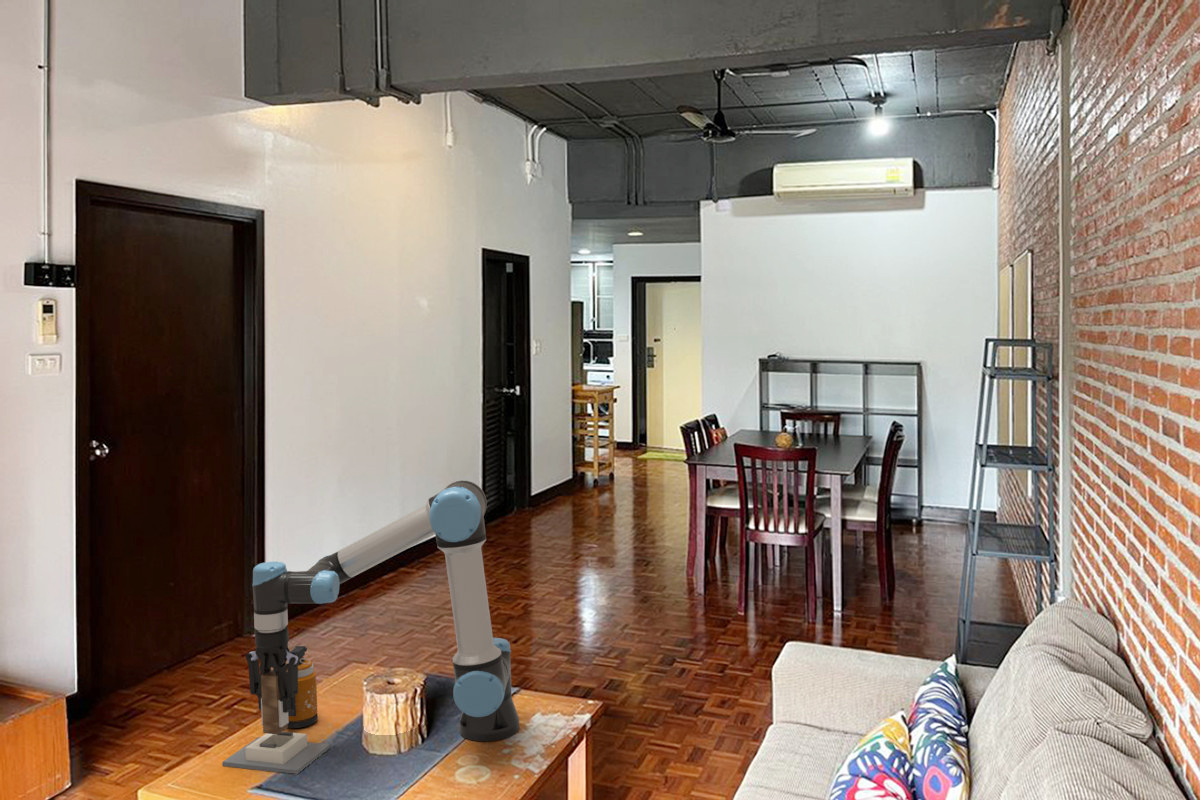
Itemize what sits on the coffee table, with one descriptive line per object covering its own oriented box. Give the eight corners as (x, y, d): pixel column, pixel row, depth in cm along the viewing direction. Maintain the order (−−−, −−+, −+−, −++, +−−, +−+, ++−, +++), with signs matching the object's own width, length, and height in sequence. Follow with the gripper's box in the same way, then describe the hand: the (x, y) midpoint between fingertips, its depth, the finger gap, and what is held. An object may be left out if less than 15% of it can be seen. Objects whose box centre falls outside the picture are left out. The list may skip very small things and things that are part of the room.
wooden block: (287, 727, 226) (285, 670, 225) (277, 734, 222) (275, 676, 221) (273, 726, 227) (271, 669, 226) (263, 732, 223) (260, 675, 222)
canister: (323, 716, 249) (320, 642, 247) (306, 733, 238) (302, 656, 237) (290, 715, 250) (287, 642, 248) (272, 733, 239) (268, 656, 237)
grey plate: (330, 748, 229) (329, 730, 229) (297, 774, 216) (296, 755, 215) (259, 740, 234) (258, 722, 234) (222, 765, 221) (221, 746, 220)
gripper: (312, 625, 224) (315, 721, 226) (250, 620, 229) (254, 714, 230) (294, 635, 217) (297, 733, 218) (230, 630, 221) (234, 726, 223)
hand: (275, 723), depth 224 cm, fingers closed on wooden block, 4 cm apart
